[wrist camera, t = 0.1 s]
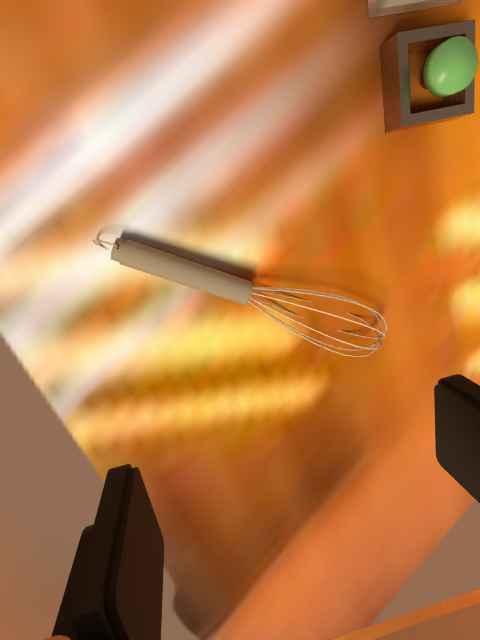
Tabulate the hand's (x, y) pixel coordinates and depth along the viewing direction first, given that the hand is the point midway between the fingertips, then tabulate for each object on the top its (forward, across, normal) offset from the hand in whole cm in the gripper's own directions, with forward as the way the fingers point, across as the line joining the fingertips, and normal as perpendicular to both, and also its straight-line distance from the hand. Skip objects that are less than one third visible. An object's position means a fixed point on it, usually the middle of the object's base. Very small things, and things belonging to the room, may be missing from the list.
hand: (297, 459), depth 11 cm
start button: (+30, -26, -15) cm, 42 cm away
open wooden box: (+31, -26, -15) cm, 43 cm away
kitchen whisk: (+32, -4, +3) cm, 32 cm away
